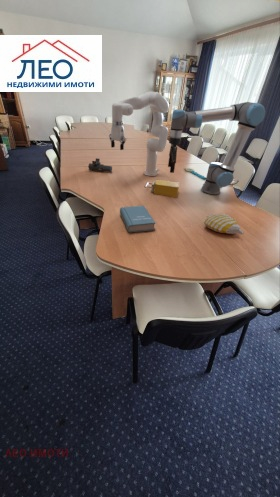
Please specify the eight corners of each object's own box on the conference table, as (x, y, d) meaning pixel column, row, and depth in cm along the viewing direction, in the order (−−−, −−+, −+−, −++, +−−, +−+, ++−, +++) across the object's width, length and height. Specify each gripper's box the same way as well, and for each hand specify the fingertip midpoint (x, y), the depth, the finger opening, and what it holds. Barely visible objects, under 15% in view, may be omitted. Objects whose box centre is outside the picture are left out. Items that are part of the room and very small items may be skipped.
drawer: (143, 190, 176) (144, 183, 173) (146, 186, 184) (146, 179, 180) (172, 195, 173) (173, 187, 169) (173, 190, 180) (174, 183, 177)
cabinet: (153, 193, 175) (154, 184, 170) (156, 189, 184) (157, 179, 179) (176, 197, 172) (178, 187, 167) (177, 192, 181) (179, 182, 176)
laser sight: (109, 174, 206) (109, 163, 200) (87, 171, 209) (86, 160, 203) (112, 171, 214) (112, 160, 208) (90, 168, 217) (90, 157, 211)
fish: (254, 225, 128) (232, 232, 118) (249, 236, 132) (228, 244, 123) (221, 208, 144) (199, 213, 134) (217, 218, 149) (196, 224, 139)
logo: (182, 168, 234) (183, 167, 234) (191, 168, 237) (191, 167, 236) (198, 179, 209) (198, 178, 208) (207, 179, 211) (207, 178, 211)
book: (154, 230, 131) (155, 222, 128) (128, 232, 126) (128, 225, 124) (143, 212, 148) (143, 205, 145) (119, 214, 144) (120, 207, 141)
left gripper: (129, 124, 160) (128, 150, 170) (112, 121, 168) (112, 145, 179) (122, 125, 155) (122, 151, 165) (105, 122, 164) (106, 146, 174)
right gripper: (167, 133, 156) (164, 164, 169) (171, 140, 136) (167, 174, 149) (178, 134, 156) (173, 164, 169) (183, 141, 136) (178, 175, 149)
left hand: (117, 148), depth 172 cm, fingers open, 9 cm apart
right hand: (170, 169), depth 159 cm, fingers open, 13 cm apart
